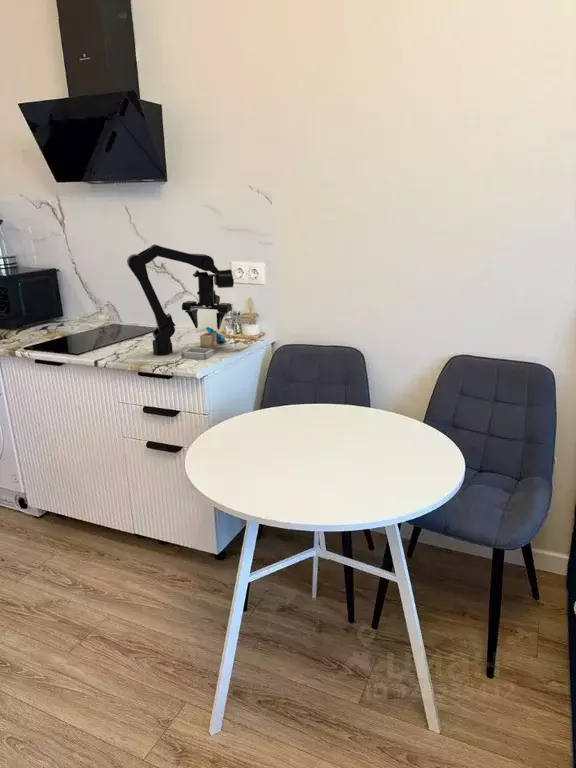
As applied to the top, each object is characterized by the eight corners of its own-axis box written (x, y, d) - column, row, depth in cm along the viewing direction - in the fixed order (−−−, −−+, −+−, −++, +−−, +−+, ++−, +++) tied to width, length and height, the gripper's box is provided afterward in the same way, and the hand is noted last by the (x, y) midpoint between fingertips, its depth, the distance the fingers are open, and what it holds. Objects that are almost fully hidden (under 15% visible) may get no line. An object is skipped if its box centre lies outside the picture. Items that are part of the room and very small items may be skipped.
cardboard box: (210, 351, 213) (209, 336, 211) (200, 351, 214) (200, 335, 212) (216, 347, 219) (216, 332, 217) (207, 347, 220) (206, 331, 218)
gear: (230, 341, 227) (212, 325, 222) (221, 352, 226) (204, 337, 221) (220, 339, 237) (203, 324, 232) (212, 350, 236) (195, 335, 231)
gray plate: (205, 362, 202) (204, 354, 201) (180, 360, 204) (179, 352, 204) (225, 349, 220) (225, 342, 219) (202, 348, 223) (202, 340, 222)
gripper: (236, 286, 214) (237, 326, 219) (192, 284, 219) (194, 323, 224) (225, 290, 204) (227, 331, 209) (180, 288, 209) (182, 328, 214)
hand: (207, 328), depth 214 cm, fingers open, 9 cm apart
